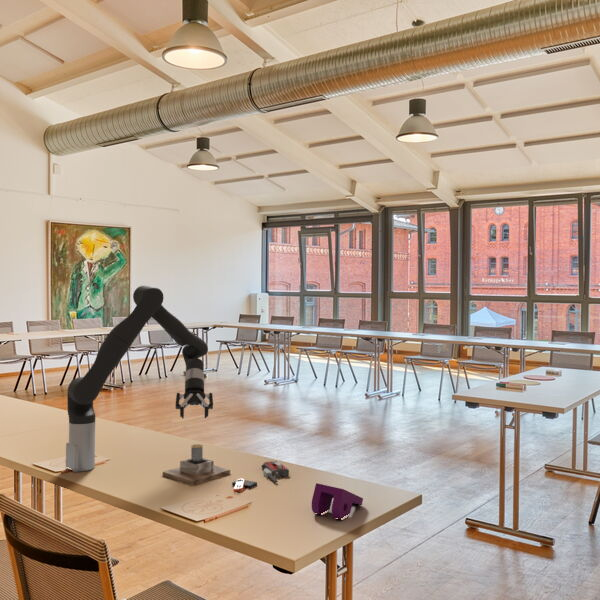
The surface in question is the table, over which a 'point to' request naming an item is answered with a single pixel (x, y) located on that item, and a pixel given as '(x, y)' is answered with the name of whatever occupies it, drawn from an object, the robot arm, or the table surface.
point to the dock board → (196, 472)
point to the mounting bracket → (340, 501)
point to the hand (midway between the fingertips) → (194, 417)
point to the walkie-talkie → (274, 470)
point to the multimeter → (243, 484)
